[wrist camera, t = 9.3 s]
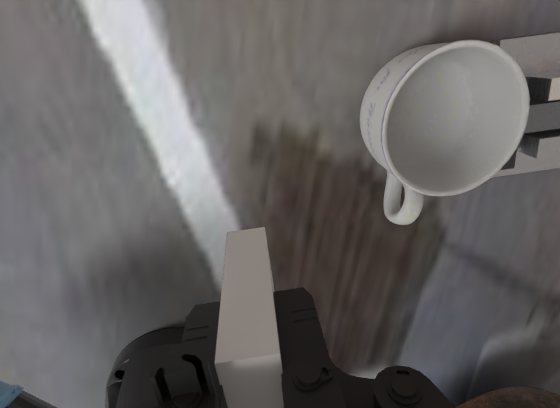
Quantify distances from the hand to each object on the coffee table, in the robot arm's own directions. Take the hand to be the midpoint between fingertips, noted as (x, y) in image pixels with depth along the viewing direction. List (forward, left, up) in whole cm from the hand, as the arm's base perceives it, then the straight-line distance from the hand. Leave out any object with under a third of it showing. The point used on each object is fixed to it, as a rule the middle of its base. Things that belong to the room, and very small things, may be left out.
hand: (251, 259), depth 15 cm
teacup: (+14, 0, -19) cm, 24 cm away
